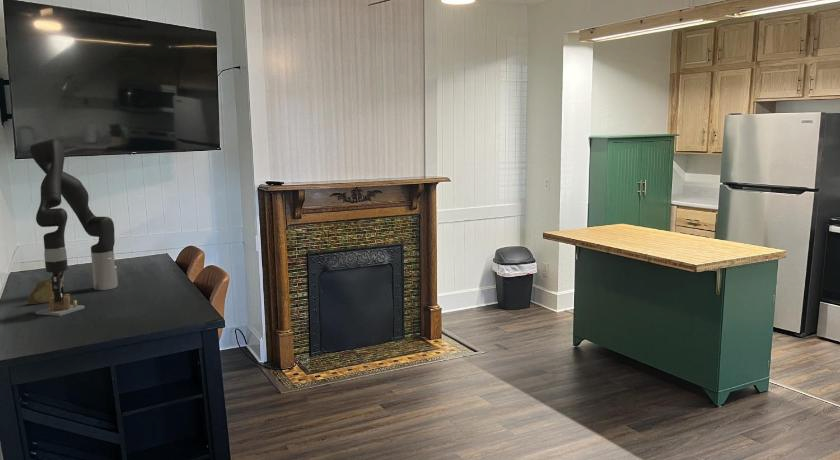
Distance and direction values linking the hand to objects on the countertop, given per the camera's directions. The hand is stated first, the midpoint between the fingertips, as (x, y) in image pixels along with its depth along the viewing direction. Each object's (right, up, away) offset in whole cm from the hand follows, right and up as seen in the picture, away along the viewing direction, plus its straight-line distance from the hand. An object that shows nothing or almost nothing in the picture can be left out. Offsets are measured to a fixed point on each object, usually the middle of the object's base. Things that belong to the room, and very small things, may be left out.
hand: (59, 299), depth 248 cm
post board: (0, -5, +1) cm, 5 cm away
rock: (-16, -3, +16) cm, 23 cm away
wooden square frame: (0, -4, +1) cm, 4 cm away
